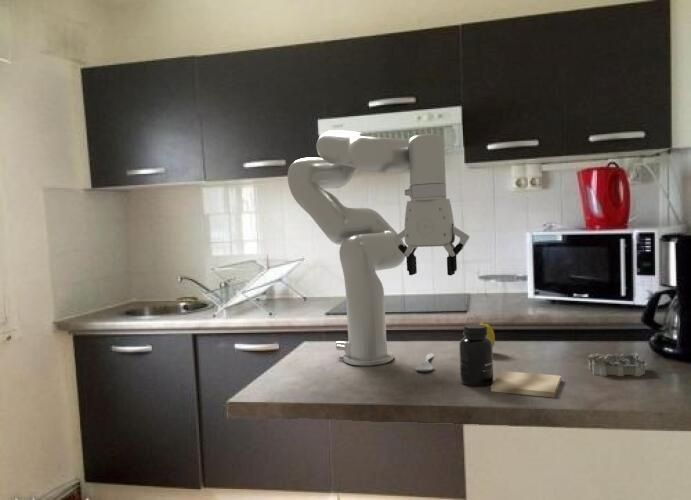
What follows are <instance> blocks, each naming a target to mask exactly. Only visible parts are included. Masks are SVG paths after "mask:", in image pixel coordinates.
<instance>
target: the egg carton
mask: <svg viewBox="0 0 691 500" xmlns="http://www.w3.org/2000/svg"><path fill="white" fill-rule="evenodd" d="M587 359H588V369H589V370H590V371H592V374H593V375H595V376H600V377H607V376H617V377H624V376H626V375H629V376H634V377H641V376H643V374H645V375H646V368H645V367H646V366H648V364H647V363H646V362H645V360H644V359H643V358H642V356H641V355H640V354H639V353H638V352H637V351H635V352H632V353H627V354H626V353H622V354H619V353H618V352H616V353H612V354H611V353H607V354H602V353H598V352H595V353H594V352H593V353H590V355H588V356H587Z"/></svg>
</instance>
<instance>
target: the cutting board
mask: <svg viewBox="0 0 691 500" xmlns="http://www.w3.org/2000/svg"><path fill="white" fill-rule="evenodd" d="M561 382H562V375H556V374H543V373H531V372H519V371H518V372H516V371H508V370H507V371H505V370H501V372H500V373H499V375H498V376H497V377H496V379H495V380H493V382H492V384H490V392H494V393H495V392H496V393H504V394H514V395H516V394H517V395H527V396H536V397H545V398H546V397H547V398H555V397H556V394H557V392H558V389H559V387H560V384H561Z"/></svg>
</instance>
